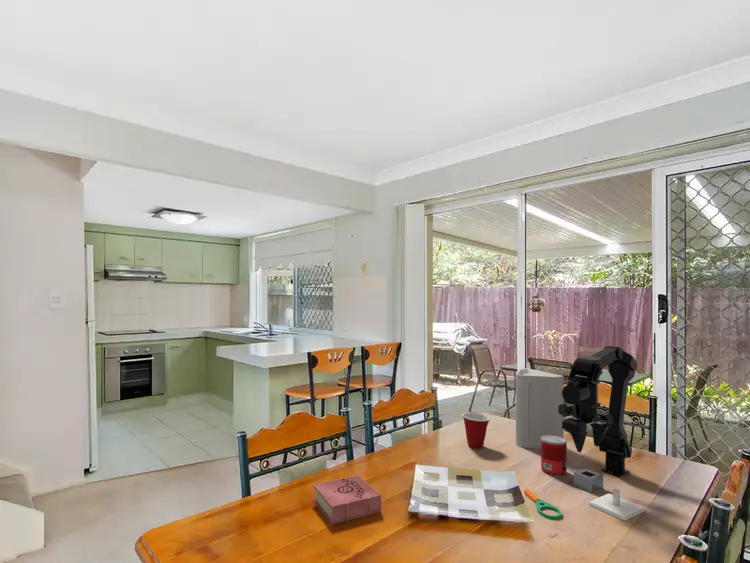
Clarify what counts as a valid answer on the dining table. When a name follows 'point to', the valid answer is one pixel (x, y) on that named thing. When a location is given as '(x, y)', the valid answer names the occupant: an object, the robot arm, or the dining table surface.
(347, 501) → the book
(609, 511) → the post block
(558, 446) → the canned food
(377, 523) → the dining table surface
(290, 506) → the dining table surface
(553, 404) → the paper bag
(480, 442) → the plastic cup
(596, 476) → the square hole block
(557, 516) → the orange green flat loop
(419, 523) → the dining table surface
